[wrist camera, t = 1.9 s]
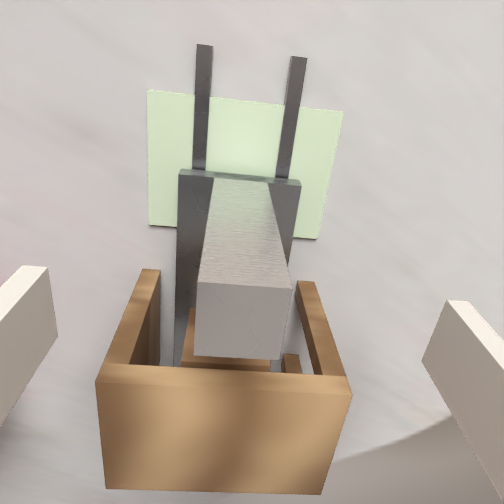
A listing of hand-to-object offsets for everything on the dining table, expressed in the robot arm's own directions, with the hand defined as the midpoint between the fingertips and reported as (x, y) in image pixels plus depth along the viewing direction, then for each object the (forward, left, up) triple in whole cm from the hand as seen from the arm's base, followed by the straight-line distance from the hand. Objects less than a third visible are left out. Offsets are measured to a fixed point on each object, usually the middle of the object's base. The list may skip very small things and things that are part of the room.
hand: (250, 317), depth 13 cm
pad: (0, +1, -13) cm, 13 cm away
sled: (0, -8, -12) cm, 14 cm away
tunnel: (0, -10, -13) cm, 16 cm away
